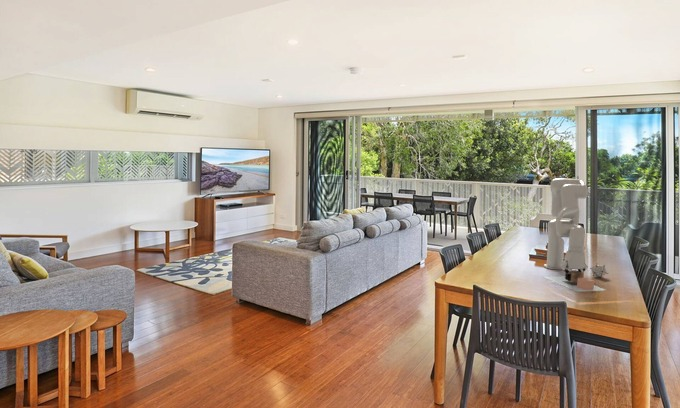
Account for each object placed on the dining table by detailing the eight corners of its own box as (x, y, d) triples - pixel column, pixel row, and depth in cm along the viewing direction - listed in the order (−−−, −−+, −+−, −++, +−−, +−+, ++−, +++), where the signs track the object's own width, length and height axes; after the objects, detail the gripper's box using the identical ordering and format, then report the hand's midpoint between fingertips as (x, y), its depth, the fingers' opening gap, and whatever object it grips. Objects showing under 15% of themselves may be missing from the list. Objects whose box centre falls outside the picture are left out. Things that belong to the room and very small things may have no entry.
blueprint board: (570, 277, 253) (570, 275, 253) (606, 292, 225) (606, 289, 225) (543, 278, 250) (543, 276, 250) (576, 293, 222) (576, 291, 222)
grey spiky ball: (595, 282, 257) (590, 266, 262) (610, 279, 252) (606, 264, 257) (591, 277, 251) (587, 262, 256) (607, 274, 246) (602, 259, 251)
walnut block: (574, 278, 241) (575, 270, 240) (583, 281, 235) (583, 273, 234) (564, 278, 240) (565, 270, 239) (572, 282, 234) (573, 273, 233)
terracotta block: (585, 286, 232) (586, 277, 231) (593, 289, 226) (594, 280, 226) (577, 286, 231) (577, 277, 230) (584, 289, 225) (584, 280, 225)
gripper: (584, 247, 240) (582, 277, 242) (557, 247, 238) (555, 278, 240) (594, 250, 233) (592, 281, 235) (566, 250, 230) (564, 282, 232)
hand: (573, 279), depth 237 cm, fingers closed on walnut block, 6 cm apart
